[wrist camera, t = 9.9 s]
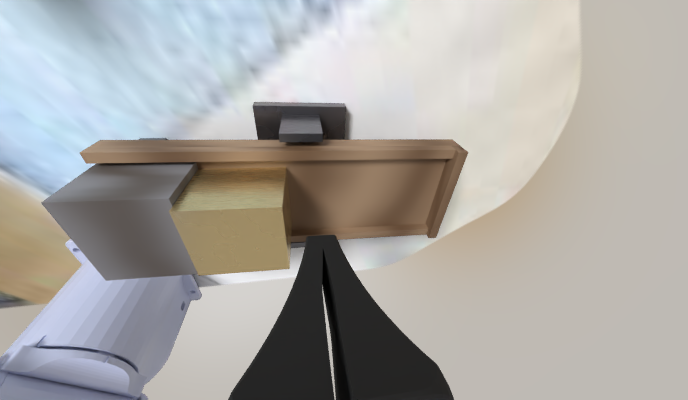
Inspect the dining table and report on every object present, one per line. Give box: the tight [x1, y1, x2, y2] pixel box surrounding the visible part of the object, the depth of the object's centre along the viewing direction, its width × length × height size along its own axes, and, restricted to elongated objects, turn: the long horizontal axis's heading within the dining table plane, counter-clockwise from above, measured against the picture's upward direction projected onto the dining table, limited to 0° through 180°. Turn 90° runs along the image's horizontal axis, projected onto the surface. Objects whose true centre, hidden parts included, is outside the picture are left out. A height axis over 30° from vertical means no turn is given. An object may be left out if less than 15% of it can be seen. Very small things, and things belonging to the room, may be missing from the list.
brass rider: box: [169, 167, 292, 276], centre depth 14 cm, size 5×5×4 cm
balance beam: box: [41, 140, 468, 281], centre depth 15 cm, size 21×7×5 cm, turn 87°
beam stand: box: [139, 102, 346, 248], centre depth 17 cm, size 14×10×4 cm
